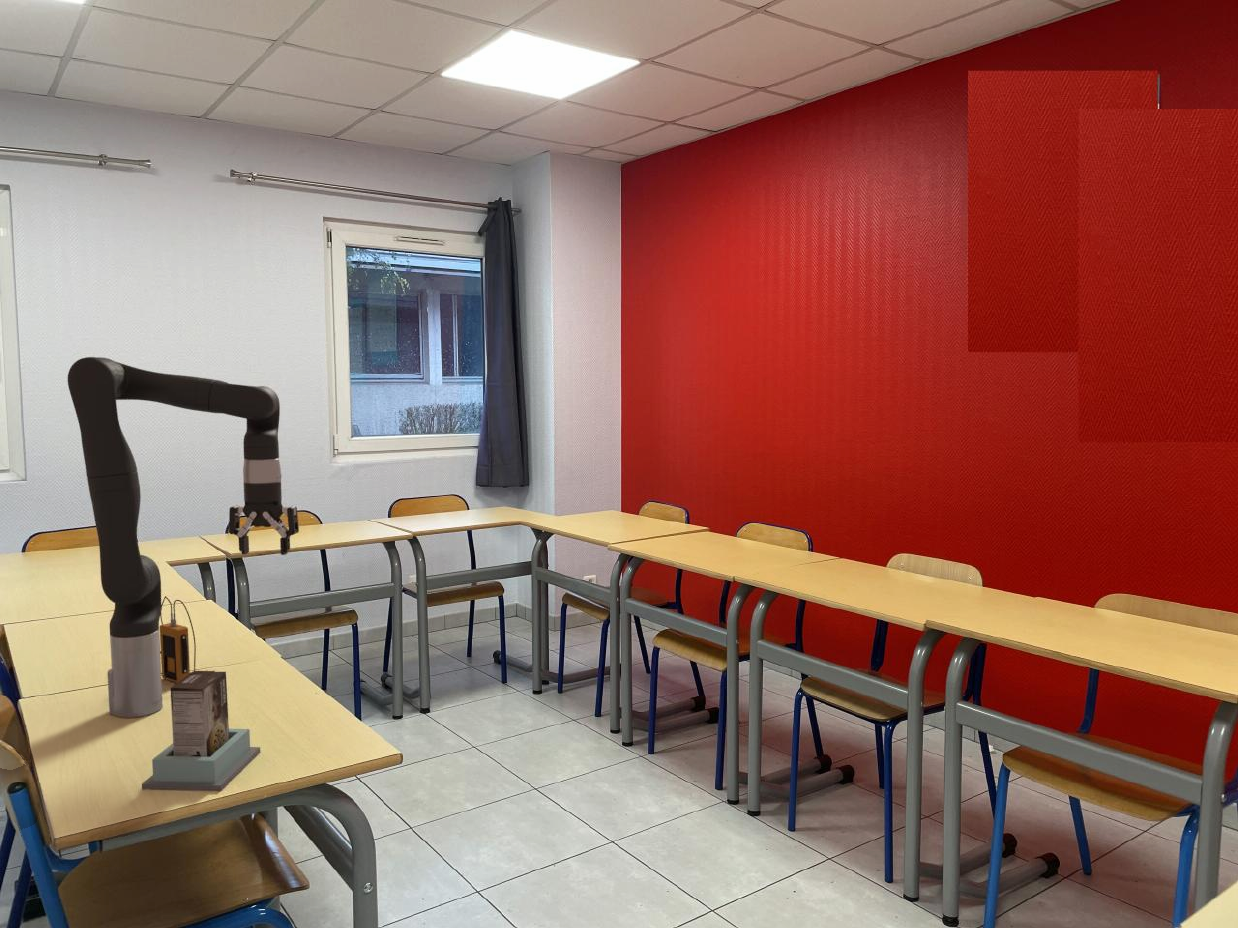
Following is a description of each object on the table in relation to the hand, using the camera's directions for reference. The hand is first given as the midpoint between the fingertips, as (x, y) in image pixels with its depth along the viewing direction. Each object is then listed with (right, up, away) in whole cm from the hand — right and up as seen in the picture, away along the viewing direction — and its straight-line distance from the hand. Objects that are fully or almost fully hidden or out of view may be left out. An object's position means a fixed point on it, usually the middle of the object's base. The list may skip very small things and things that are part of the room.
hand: (264, 553), depth 195 cm
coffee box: (+1, -36, -30) cm, 47 cm away
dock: (+1, -36, -30) cm, 47 cm away
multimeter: (-26, -31, +20) cm, 45 cm away
